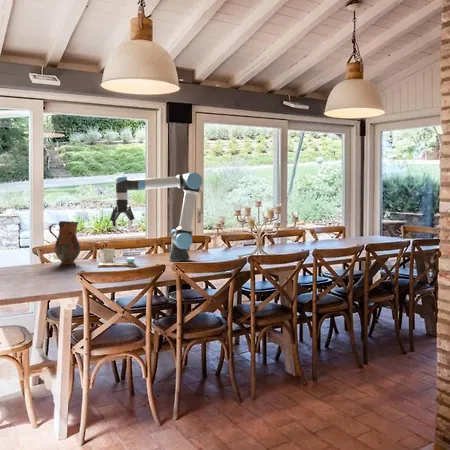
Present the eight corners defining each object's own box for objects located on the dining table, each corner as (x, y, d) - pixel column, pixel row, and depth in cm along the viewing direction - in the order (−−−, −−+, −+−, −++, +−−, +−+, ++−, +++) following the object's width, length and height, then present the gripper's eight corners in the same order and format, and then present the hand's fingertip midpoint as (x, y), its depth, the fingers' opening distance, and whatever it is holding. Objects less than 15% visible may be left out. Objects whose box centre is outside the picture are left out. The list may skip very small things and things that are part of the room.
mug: (111, 264, 351) (111, 250, 350) (95, 263, 353) (94, 249, 352) (116, 262, 359) (116, 248, 358) (100, 262, 361) (100, 248, 360)
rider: (134, 264, 343) (134, 257, 342) (134, 266, 337) (134, 258, 336) (127, 264, 342) (127, 257, 342) (126, 266, 336) (126, 258, 336)
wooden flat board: (135, 265, 344) (135, 262, 344) (134, 268, 336) (134, 264, 336) (99, 266, 341) (99, 262, 341) (97, 268, 332) (97, 264, 332)
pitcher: (85, 264, 348) (84, 221, 345) (55, 268, 333) (54, 223, 331) (73, 262, 360) (72, 220, 357) (44, 265, 345) (43, 221, 342)
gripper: (131, 198, 355) (132, 228, 357) (104, 199, 335) (104, 231, 336) (139, 198, 351) (139, 229, 352) (111, 199, 330) (112, 232, 332)
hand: (122, 230), depth 344 cm, fingers open, 13 cm apart
